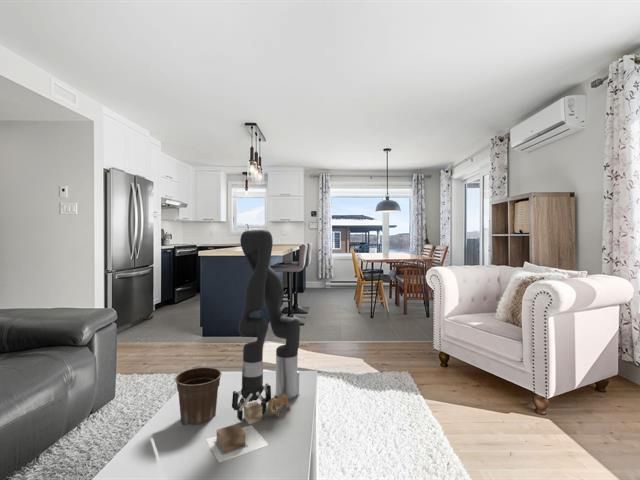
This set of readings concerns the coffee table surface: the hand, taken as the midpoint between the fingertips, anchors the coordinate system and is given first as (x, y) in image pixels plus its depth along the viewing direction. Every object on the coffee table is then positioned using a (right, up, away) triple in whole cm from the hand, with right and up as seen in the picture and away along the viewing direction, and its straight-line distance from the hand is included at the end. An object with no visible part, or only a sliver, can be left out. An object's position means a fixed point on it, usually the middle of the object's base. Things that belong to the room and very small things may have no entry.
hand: (251, 416), depth 125 cm
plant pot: (-20, -2, +2) cm, 20 cm away
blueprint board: (-2, -2, -14) cm, 15 cm away
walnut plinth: (-4, -1, -15) cm, 16 cm away
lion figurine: (+10, -2, +4) cm, 11 cm away
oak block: (0, -2, 0) cm, 2 cm away
